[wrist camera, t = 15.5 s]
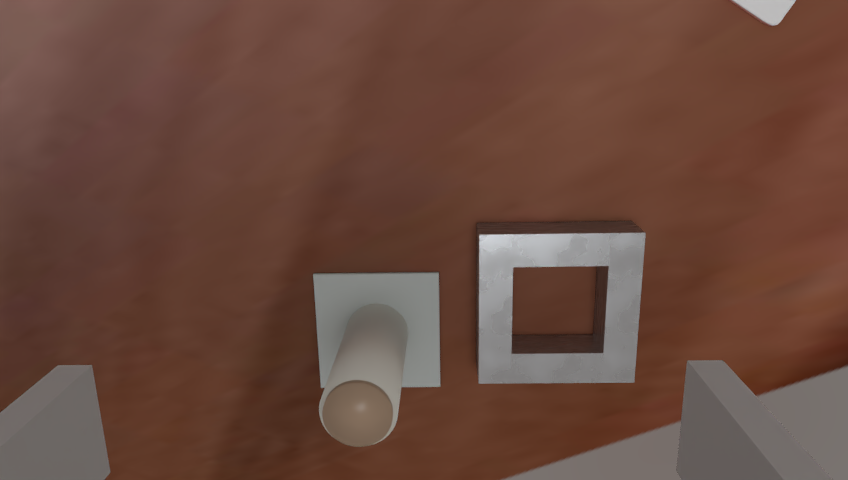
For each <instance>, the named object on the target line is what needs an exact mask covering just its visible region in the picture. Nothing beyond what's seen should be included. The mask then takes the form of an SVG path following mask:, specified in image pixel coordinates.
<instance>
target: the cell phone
mask: <svg viewBox="0 0 848 480" xmlns="http://www.w3.org/2000/svg"><path fill="white" fill-rule="evenodd" d="M729 1H730V2H732V3H733V4H735V5H736V6H738V7H739V8H741V9H742V10H744V11H745V12H747V13H748V14H750V15H751V16H753V17H754V18H756V19H757V20H759V21H760V22H762V23H764V24H766V25H769V26H774V25H777V24H779V23H780V22H781V20H782V19H783V18H784V16H785V15H786V13H787V12H788V11H789V9H790V8H791V7H792V5H793V4H794V2H795V1H796V0H729Z"/></svg>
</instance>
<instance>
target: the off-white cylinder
mask: <svg viewBox="0 0 848 480" xmlns="http://www.w3.org/2000/svg"><path fill="white" fill-rule="evenodd" d="M407 339H408V327H407V324H406V321H405V319H404V318H403V316H402V315H401V314H400V313H399V312H398V311H397V310H396V309H394V308H392V307H390V306H388V305H385V304H377V303H376V304H368V305H365V306H363V307H361V308H359V309H358V310H357V311H356V312H355V313H354V314H353V315H352V316H351V318H350V320H349V322H348V325H347V328H346V330H345V333H344V336H343V339H342V341H341V344H340V347H339V350H338V353H337V355H336V358H335V361H334V364H333V366H332V369H331V372H330V375H329V378H328V380H327V383H326V386H325V389H324V391H323V394H322V397H321V400H320V404H319V415H320V419H321V422H322V424H323V426H324V428H325V429H326V430H327V432H328V433H329V434H330V435H331V436H332V437H334V438H335V439H336V440H338V441H339V442H341V443H343V444H346V445H349V446H355V447H363V446H369V445H373V444H376V443H378V442H380V441H382V440H383V439H385V438H386V437H387V436H388V435H389V434H390V433H391V432H392V430H393V429H394V427H395V425H396V422H397V418H398V410H399V402H400V394H401V387H402V379H403V371H404V363H405V355H406V347H407Z"/></svg>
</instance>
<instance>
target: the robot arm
mask: <svg viewBox="0 0 848 480" xmlns="http://www.w3.org/2000/svg"><path fill="white" fill-rule="evenodd" d="M678 449H679V450H678V458H677V469H676V470H677V473H678V474H679V476H680V478H681V480H833V479H832V478H831V477H830V476H829V475H828V474H827V472H826V471H825V470H824V469H823V468H822V467H821V466H820V465H819V464H818V463H817V462H816V461H815V459H813V457H812V456H811V455H810V454H809V453H808V452H807V451H806V450H805V449H804V448H803V447H802V445H801V444H800V443H799V442H798V441H797V440H796V439H795V438H794V437H793V436H792V435H791V434H790V433H789V431H788V430H787V429H786V428H785V427H784V426H783V425H782V424H781V423H780V422H779V421H778V420H777V418H776V417H775V416H774V415H773V414H772V413H771V412H770V411H769V410H768V409H767V408H766V407H765V405H764V404H763V403H762V402H761V401H760V400H759V399H758V398H757V397H756V396H755V395H754V394H753V392H752V391H751V390H750V389H749V388H748V387H747V386H746V385H745V384H744V383H743V382H742V381H741V379H740V378H739V377H738V376H737V375H736V374H735V373H734V372H733V371H732V370H731V369H730V368H729V367H728V365H727V364H726V363H725V362H724V361H723V360H706V361H687V368H686V378H685V388H684V398H683V408H682V418H681V429H680V439H679V448H678ZM109 473H110V467H109V461H108V456H107V450H106V444H105V438H104V432H103V427H102V421H101V415H100V409H99V403H98V398H97V392H96V386H95V380H94V374H93V369H92V365H58V366H57V367H55V368H54V369H53V370H52V371H50V372H49V373H48V374H47V375H46V376H44V377H43V378H42V379H41V380H39V381H38V382H37V383H36V384H35V385H33V386H32V387H31V388H30V389H28V390H27V391H26V392H25V393H24V394H22V395H21V396H20V397H19V398H17V399H16V400H15V401H14V402H13V403H11V404H10V405H9V406H8V407H6V408H5V409H4V410H3V411H2V412H0V480H105V478H106V477H107V476H108V475H109Z"/></svg>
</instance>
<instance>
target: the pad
mask: <svg viewBox="0 0 848 480" xmlns="http://www.w3.org/2000/svg"><path fill="white" fill-rule="evenodd" d="M313 279H314V294H315V308H316V323H317V337H318V352H319V367H320V381H321V388H325V386H326V383H327V380H328V378H329V375H330V372H331V369H332V366H333V364H334V361H335V358H336V355H337V353H338V350H339V347H340V344H341V341H342V339H343V336H344V333H345V330H346V328H347V325H348V322H349V320H350V318H351V316H352V315H353V314H354V313H355V312H356V311H357V310H358V309H359V308H361V307H363V306H365V305H368V304H376V303H377V304H385V305H388V306H390V307H392V308H394V309H396V310H397V311H398V312H399V313H400V314H401V315H402V316H403V318H404V319H405V321H406V324H407V327H408V339H407V347H406V355H405V363H404V371H403V379H402V387H440V327H439V272H392V273H314V274H313Z"/></svg>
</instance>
